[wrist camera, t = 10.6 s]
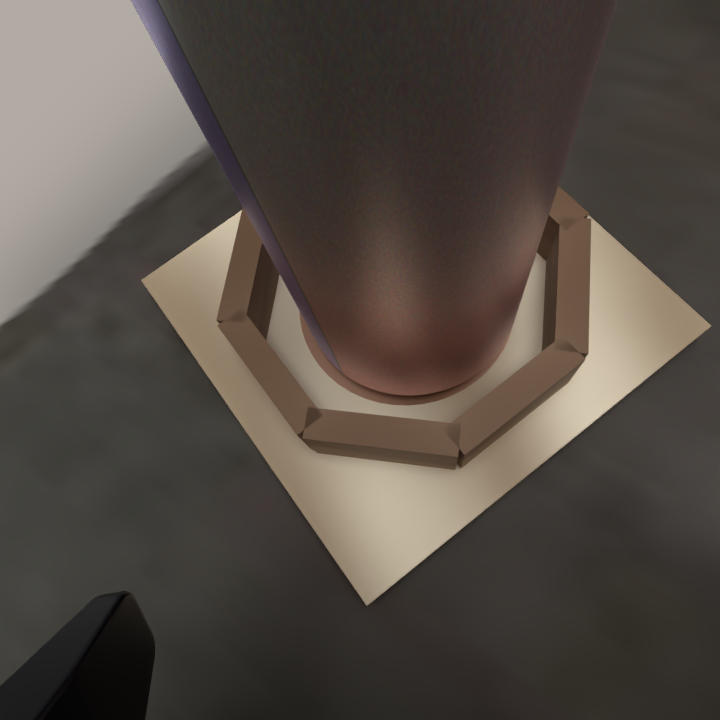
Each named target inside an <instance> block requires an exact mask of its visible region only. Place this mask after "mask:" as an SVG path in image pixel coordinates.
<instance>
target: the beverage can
mask: <svg viewBox="0 0 720 720" xmlns="http://www.w3.org/2000/svg"><path fill="white" fill-rule="evenodd" d="M131 2H132V3H133V5H134V7H135V9H136V11H137V13H138V15H139V16H140V18H141V20H142V22H143V24H144V26H145V27H146V29H147V31H148V33H149V35H150V36H151V38H152V40H153V42H154V44H155V46H156V48H157V49H158V51H159V53H160V55H161V56H162V59H163V60H164V62H165V64H166V66H167V68H168V69H169V71H170V73H171V75H172V77H173V79H174V81H175V82H176V84H177V86H178V88H179V90H180V92H181V93H182V95H183V97H184V99H185V101H186V103H187V105H188V107H189V108H190V110H191V112H192V114H193V116H194V118H195V119H196V121H197V123H198V125H199V127H200V128H201V130H202V132H203V134H204V136H205V138H206V140H207V141H208V143H209V145H210V147H211V149H212V151H213V153H214V154H215V156H216V158H217V160H218V162H219V164H220V165H221V167H222V169H223V171H224V173H225V175H226V176H227V178H228V180H229V182H230V184H231V186H232V187H233V189H234V191H235V193H236V195H237V197H238V199H239V200H240V202H241V204H242V206H243V208H244V210H245V211H246V213H247V215H248V217H249V219H250V221H251V222H252V224H253V226H254V228H255V230H256V232H257V233H258V235H259V237H260V239H261V241H262V243H263V245H264V246H265V248H266V250H267V252H268V254H269V256H270V257H271V259H272V261H273V263H274V265H275V267H276V268H277V270H278V272H279V274H280V276H281V278H282V279H283V281H284V283H285V285H286V287H287V289H288V291H289V292H290V294H291V296H292V298H293V300H294V302H295V303H296V305H297V307H298V309H299V311H300V313H301V314H302V316H303V318H304V320H305V322H306V324H307V325H308V327H309V329H310V331H311V333H312V335H313V337H314V338H315V340H316V342H317V344H318V345H319V347H320V349H321V350H322V352H323V353H324V355H325V356H326V357H327V358H328V360H329V361H330V362H331V363H332V364H333V365H334V366H335V367H336V368H337V369H338V370H339V371H341V372H342V373H343V374H344V375H346V376H347V377H349V378H350V379H352V380H354V381H355V382H357V383H359V384H361V385H363V386H365V387H368V388H370V389H373V390H376V391H380V392H384V393H389V394H395V395H424V394H431V393H435V392H439V391H443V390H446V389H449V388H451V387H454V386H456V385H458V384H460V383H463V382H464V381H466V380H468V379H470V378H471V377H473V376H474V375H476V374H477V373H478V372H480V371H481V370H482V369H483V368H485V367H486V366H487V365H488V364H489V363H490V362H491V361H492V360H493V358H494V357H495V356H496V355H497V354H498V352H499V351H500V350H501V348H502V347H503V345H504V344H505V342H506V340H507V338H508V336H509V334H510V332H511V329H512V327H513V324H514V321H515V318H516V315H517V312H518V308H519V305H520V302H521V299H522V296H523V293H524V290H525V287H526V284H527V281H528V278H529V274H530V271H531V268H532V265H533V262H534V259H535V256H536V253H537V250H538V247H539V243H540V240H541V237H542V234H543V231H544V228H545V225H546V222H547V219H548V216H549V213H550V209H551V206H552V203H553V200H554V197H555V194H556V191H557V188H558V185H559V182H560V179H561V175H562V172H563V169H564V166H565V163H566V160H567V157H568V154H569V151H570V148H571V144H572V141H573V138H574V135H575V132H576V129H577V126H578V123H579V120H580V117H581V114H582V110H583V107H584V104H585V101H586V98H587V95H588V92H589V89H590V86H591V83H592V80H593V76H594V73H595V70H596V67H597V64H598V61H599V58H600V55H601V52H602V49H603V45H604V42H605V39H606V36H607V33H608V30H609V27H610V24H611V21H612V18H613V15H614V11H615V8H616V5H617V2H618V0H131Z"/></svg>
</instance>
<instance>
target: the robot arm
mask: <svg viewBox="0 0 720 720" xmlns="http://www.w3.org/2000/svg"><path fill="white" fill-rule="evenodd" d="M154 658H155V641H154V637H153V634H152V632H151V630H150V627H149V625H148V623H147V621H146V619H145V617H144V615H143V613H142V611H141V609H140V607H139V604H138V602H137V600H136V598H135V597H134V595H132V594H131V593H130V592H126V591H122V592H116V593H110V594H104V595H100V596H97V597H95V598H94V599H93V600H91V601H90V602H89V603H88V604H87V605H86V606H85V607H84V608H83V609H82V610H81V611H80V612H79V613H78V614H76V615H75V616H74V617H73V618H72V619H71V620H70V621H69V622H68V623H67V624H66V625H65V626H64V627H63V628H62V629H61V630H59V631H58V632H57V633H56V634H55V635H54V636H53V637H52V638H51V639H50V640H49V641H48V642H47V643H46V644H45V645H44V646H42V647H41V648H40V649H39V650H38V651H37V652H36V653H35V654H34V655H33V656H32V657H31V658H30V659H29V660H28V661H27V662H25V663H24V664H23V665H22V666H21V667H20V668H19V669H18V670H17V671H16V672H15V673H14V674H13V675H12V676H11V677H10V678H8V679H7V680H6V681H5V682H4V683H3V684H2V685H1V686H0V720H145V717H146V710H147V704H148V697H149V691H150V684H151V678H152V671H153V665H154Z"/></svg>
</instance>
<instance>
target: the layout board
mask: <svg viewBox="0 0 720 720" xmlns="http://www.w3.org/2000/svg"><path fill="white" fill-rule="evenodd" d="M142 282H143V283H144V285H145V286H146V288H147V289H148V291H149V292H150V293H151V295H152V296H153V298H154V299H155V301H156V302H157V304H158V305H159V307H160V308H161V309H162V311H163V312H164V314H165V315H166V317H167V318H168V320H169V321H170V322H171V324H172V325H173V327H174V328H175V330H176V331H177V333H178V334H179V335H180V337H181V338H182V340H183V341H184V343H185V344H186V346H187V347H188V348H189V350H190V351H191V353H192V354H193V356H194V357H195V359H196V360H197V361H198V363H199V364H200V366H201V367H202V369H203V370H204V372H205V373H206V374H207V376H208V377H209V379H210V380H211V382H212V383H213V385H214V386H215V387H216V389H217V390H218V392H219V393H220V395H221V396H222V398H223V399H224V400H225V402H226V403H227V405H228V406H229V408H230V409H231V411H232V412H233V413H234V415H235V416H236V418H237V419H238V421H239V422H240V424H241V425H242V426H243V428H244V429H245V431H246V432H247V434H248V435H249V437H250V438H251V439H252V441H253V442H254V444H255V445H256V447H257V448H258V450H259V451H260V452H261V454H262V455H263V457H264V458H265V460H266V461H267V463H268V464H269V465H270V467H271V468H272V470H273V471H274V473H275V474H276V476H277V477H278V478H279V480H280V481H281V483H282V484H283V486H284V487H285V489H286V490H287V491H288V493H289V494H290V496H291V497H292V499H293V500H294V502H295V503H296V504H297V506H298V507H299V509H300V510H301V512H302V513H303V515H304V516H305V517H306V519H307V520H308V522H309V523H310V525H311V526H312V528H313V529H314V530H315V532H316V533H317V535H318V536H319V538H320V539H321V541H322V542H323V543H324V545H325V546H326V548H327V549H328V551H329V552H330V554H331V555H332V556H333V558H334V559H335V561H336V562H337V564H338V565H339V567H340V568H341V569H342V571H343V572H344V574H345V575H346V577H347V578H348V580H349V581H350V582H351V584H352V585H353V587H354V588H355V590H356V591H357V593H358V594H359V595H360V597H361V598H362V600H363V601H364V603H365V604H366V606H367V605H369V604H371V603H372V602H373V601H374V600H376V599H377V598H378V597H379V596H380V595H382V594H383V593H384V592H385V591H387V590H388V589H389V588H390V587H392V586H393V585H394V584H395V583H396V582H398V581H399V580H400V579H401V578H403V577H404V576H405V575H406V574H408V573H409V572H410V571H411V570H412V569H414V568H415V567H416V566H417V565H419V564H420V563H421V562H422V561H424V560H425V559H426V558H427V557H428V556H430V555H431V554H432V553H433V552H435V551H436V550H437V549H438V548H440V547H441V546H442V545H443V544H444V543H446V542H447V541H448V540H449V539H451V538H452V537H453V536H454V535H456V534H457V533H458V532H459V531H460V530H462V529H463V528H464V527H465V526H467V525H468V524H469V523H470V522H472V521H473V520H474V519H475V518H476V517H478V516H479V515H480V514H481V513H483V512H484V511H485V510H486V509H488V508H489V507H490V506H491V505H492V504H494V503H495V502H496V501H497V500H499V499H500V498H501V497H502V496H504V495H505V494H506V493H507V492H508V491H510V490H511V489H512V488H513V487H515V486H516V485H517V484H518V483H520V482H521V481H522V480H523V479H524V478H526V477H527V476H528V475H529V474H531V473H532V472H533V471H534V470H536V469H537V468H538V467H539V466H540V465H542V464H543V463H544V462H545V461H547V460H548V459H549V458H550V457H552V456H553V455H554V454H555V453H556V452H558V451H559V450H560V449H561V448H563V447H564V446H565V445H566V444H568V443H569V442H570V441H571V440H572V439H574V438H575V437H576V436H577V435H579V434H580V433H581V432H582V431H584V430H585V429H586V428H587V427H588V426H590V425H591V424H592V423H593V422H595V421H596V420H597V419H598V418H600V417H601V416H602V415H603V414H605V413H606V412H607V411H608V410H609V409H611V408H612V407H613V406H614V405H616V404H617V403H618V402H619V401H621V400H622V399H623V398H624V397H625V396H627V395H628V394H629V393H630V392H632V391H633V390H634V389H635V388H637V387H638V386H639V385H640V384H641V383H643V382H644V381H645V380H646V379H648V378H649V377H650V376H651V375H653V374H654V373H655V372H656V371H657V370H659V369H660V368H661V367H662V366H664V365H665V364H666V363H667V362H669V361H670V360H671V359H672V358H673V357H675V356H676V355H677V354H678V353H680V352H681V351H682V350H683V349H685V348H686V347H687V346H688V345H689V344H691V343H692V342H693V341H694V340H696V339H697V338H698V337H699V336H700V335H701V334H703V333H704V332H705V331H706V330H707V329H708V328H709V327H711V325H710V324H709V323H708V322H706V321H705V320H704V319H703V318H702V317H701V316H700V315H699V314H698V313H696V312H695V311H694V310H693V309H692V308H691V307H690V306H689V305H688V304H686V303H685V302H684V301H683V300H682V299H681V298H680V297H679V296H678V295H677V294H675V293H674V292H673V291H672V290H671V289H670V288H669V287H668V286H667V285H665V284H664V283H663V282H662V281H661V280H660V279H659V278H658V277H657V276H655V275H654V274H653V273H652V272H651V271H650V270H649V269H648V268H647V267H645V266H644V265H643V264H642V263H641V262H640V261H639V260H638V259H637V258H635V257H634V256H633V255H632V254H631V253H630V252H629V251H628V250H627V249H625V248H624V247H623V246H622V245H621V244H620V243H619V242H618V241H617V240H615V239H614V238H613V237H612V236H611V235H610V234H609V233H608V232H607V231H605V230H604V229H603V228H602V227H601V226H600V225H599V224H598V223H597V222H595V221H594V220H593V219H592V218H591V217H590V216H589V213H588V212H587V211H586V210H585V209H583V208H582V207H581V206H580V205H579V204H578V203H577V202H576V201H575V200H573V199H572V198H571V197H570V196H569V195H568V194H567V193H566V192H565V191H563V190H562V189H561V188H560V187H559V186H558V188H557V191H556V194H555V197H554V200H553V203H552V206H551V209H550V213H549V216H548V219H547V222H546V225H545V228H544V231H543V234H542V237H541V240H540V243H539V247H538V250H537V253H536V256H535V259H534V262H533V265H532V268H531V271H530V274H529V278H528V281H527V284H526V287H525V290H524V293H523V296H522V299H521V302H520V305H519V308H518V312H517V315H516V318H515V321H514V324H513V327H512V329H511V332H510V334H509V336H508V338H507V340H506V342H505V344H504V345H503V347H502V348H501V350H500V351H499V352H498V354H497V355H496V356H495V357H494V358H493V360H492V361H491V362H490V363H489V364H488V365H487V366H486V367H485V368H483V369H482V370H481V371H480V372H478V373H477V374H476V375H474V376H473V377H471V378H470V379H468V380H466V381H464V382H463V383H460V384H458V385H456V386H454V387H451V388H449V389H446V390H443V391H439V392H435V393H431V394H424V395H395V394H389V393H384V392H380V391H376V390H373V389H370V388H368V387H365V386H363V385H361V384H359V383H357V382H355V381H354V380H352V379H350V378H349V377H347V376H346V375H344V374H343V373H342V372H341V371H339V370H338V369H337V368H336V367H335V366H334V365H333V364H332V363H331V362H330V361H329V360H328V358H327V357H326V356H325V355H324V353H323V352H322V350H321V349H320V347H319V345H318V344H317V342H316V340H315V338H314V337H313V335H312V333H311V331H310V329H309V327H308V325H307V324H306V322H305V320H304V318H303V316H302V314H301V313H300V311H299V309H298V307H297V305H296V303H295V302H294V300H293V298H292V296H291V294H290V292H289V291H288V289H287V287H286V285H285V283H284V281H283V279H282V278H281V276H280V274H279V272H278V270H277V268H276V267H275V265H274V263H273V261H272V259H271V257H270V256H269V254H268V252H267V250H266V248H265V246H264V245H263V243H262V241H261V239H260V237H259V235H258V233H257V232H256V230H255V228H254V226H253V224H252V222H251V221H250V219H249V217H248V215H247V213H246V211H245V210H244V208H242V210H241V211H240V212H238V213H237V214H236V215H234V216H233V217H231V218H230V219H228V220H227V221H226V222H224V223H223V224H221V225H220V226H218V227H217V228H216V229H214V230H213V231H211V232H210V233H208V234H207V235H206V236H204V237H203V238H201V239H200V240H198V241H197V242H196V243H194V244H193V245H191V246H190V247H188V248H187V249H185V250H184V251H183V252H181V253H180V254H178V255H177V256H175V257H174V258H173V259H171V260H170V261H168V262H167V263H165V264H164V265H163V266H161V267H160V268H158V269H157V270H155V271H154V272H153V273H151V274H150V275H148V276H147V277H145V278H144V279H143V280H142Z"/></svg>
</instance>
